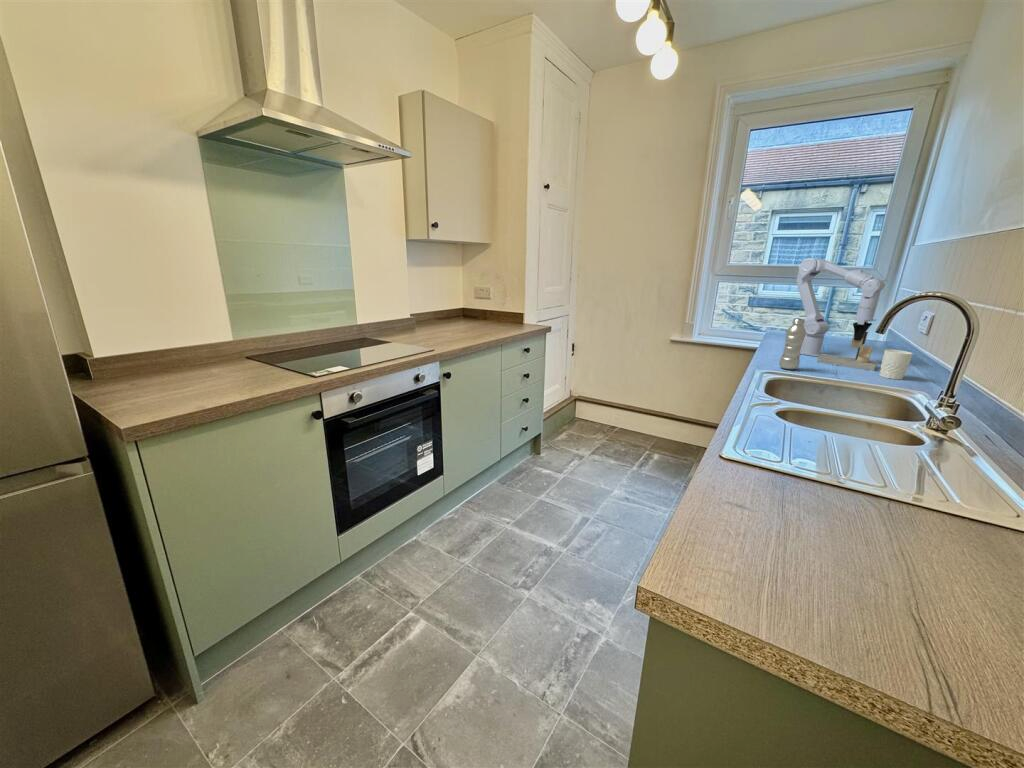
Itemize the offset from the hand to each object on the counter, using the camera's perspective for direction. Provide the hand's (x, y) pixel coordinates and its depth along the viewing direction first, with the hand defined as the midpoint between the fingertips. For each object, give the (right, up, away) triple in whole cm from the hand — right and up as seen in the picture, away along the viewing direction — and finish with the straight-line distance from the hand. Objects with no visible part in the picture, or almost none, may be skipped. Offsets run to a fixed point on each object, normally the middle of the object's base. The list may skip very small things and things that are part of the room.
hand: (858, 339), depth 175 cm
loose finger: (0, -3, +1) cm, 3 cm away
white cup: (-5, -17, -20) cm, 26 cm away
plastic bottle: (-38, -13, -12) cm, 42 cm away
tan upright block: (-4, -11, -6) cm, 13 cm away
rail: (-7, -11, -3) cm, 13 cm away
